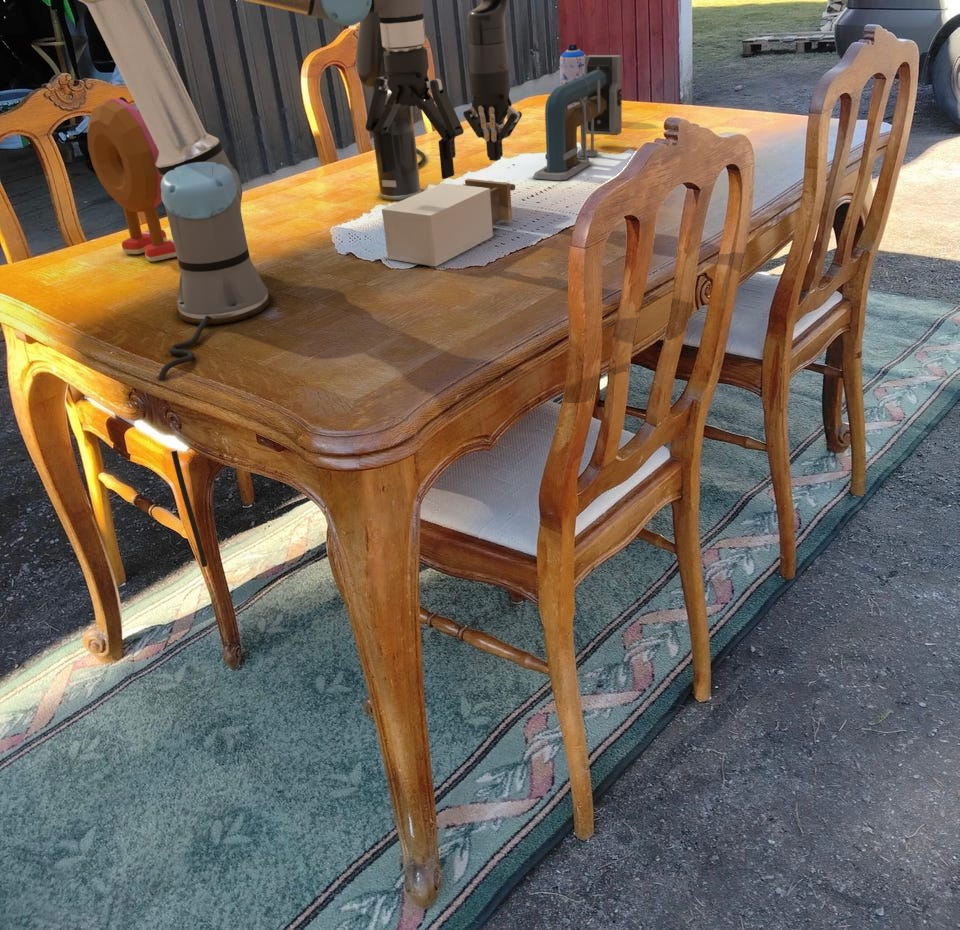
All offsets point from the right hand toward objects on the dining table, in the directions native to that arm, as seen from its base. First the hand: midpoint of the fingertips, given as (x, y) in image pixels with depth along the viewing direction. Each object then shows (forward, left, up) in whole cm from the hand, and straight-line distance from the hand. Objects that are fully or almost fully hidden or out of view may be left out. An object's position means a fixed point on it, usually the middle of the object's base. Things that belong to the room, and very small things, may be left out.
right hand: (495, 159), depth 194 cm
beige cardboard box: (+13, -15, -12) cm, 23 cm away
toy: (-12, -69, -12) cm, 71 cm away
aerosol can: (-82, +46, -12) cm, 95 cm away
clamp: (-36, +30, -12) cm, 49 cm away
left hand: (+16, -19, +3) cm, 25 cm away
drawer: (+6, -7, -11) cm, 14 cm away
